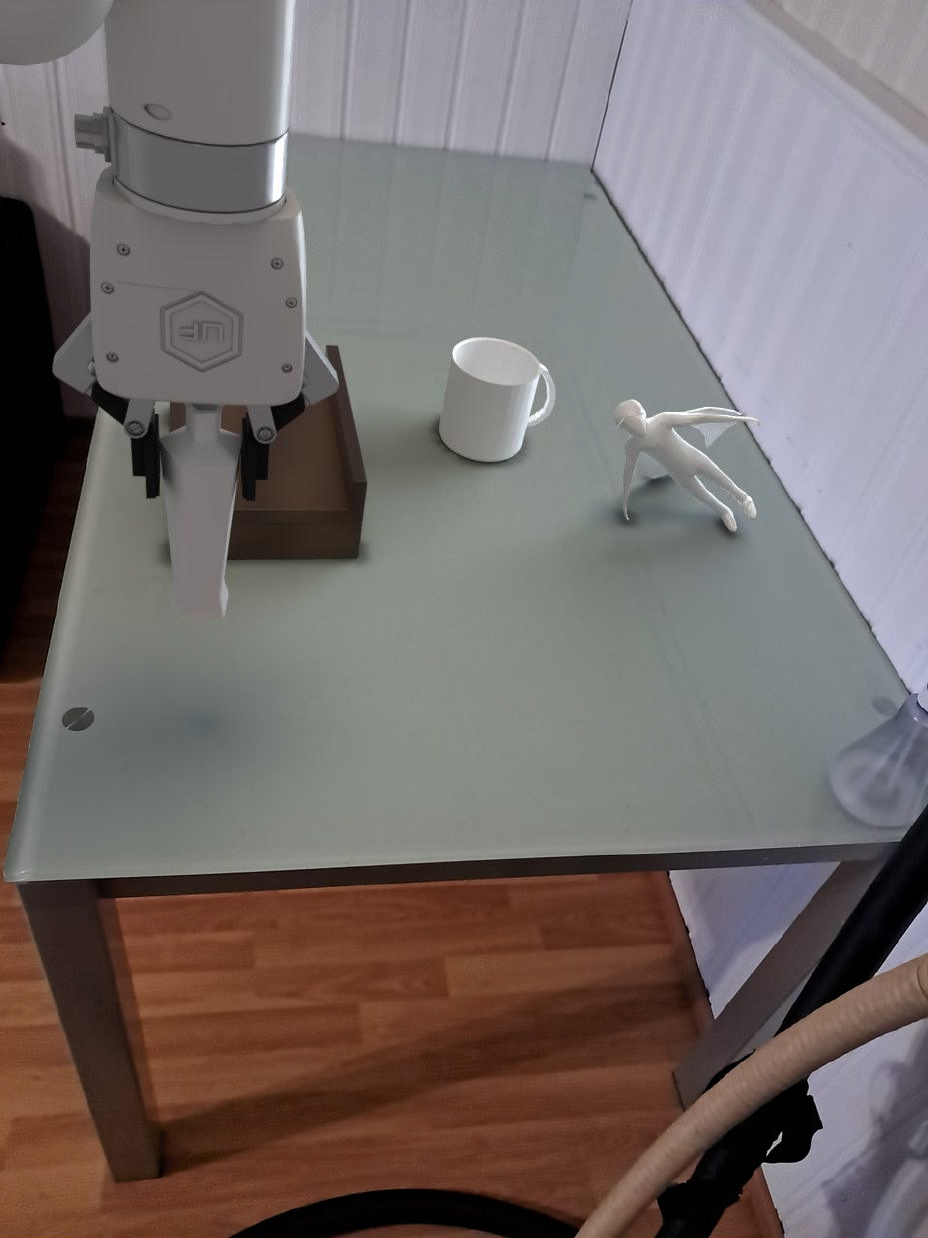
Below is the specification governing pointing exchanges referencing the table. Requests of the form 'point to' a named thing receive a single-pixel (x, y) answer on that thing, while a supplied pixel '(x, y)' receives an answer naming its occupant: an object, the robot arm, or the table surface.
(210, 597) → the perfume bottle
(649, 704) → the table surface
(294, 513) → the wooden display stand
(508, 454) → the mug
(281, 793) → the table surface
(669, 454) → the figurine
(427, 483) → the table surface
